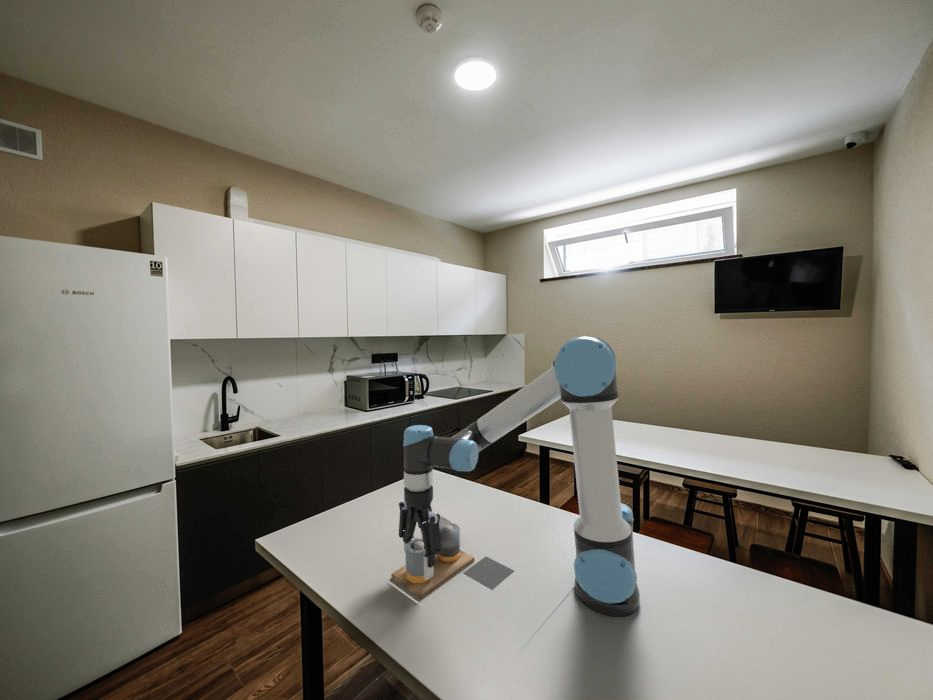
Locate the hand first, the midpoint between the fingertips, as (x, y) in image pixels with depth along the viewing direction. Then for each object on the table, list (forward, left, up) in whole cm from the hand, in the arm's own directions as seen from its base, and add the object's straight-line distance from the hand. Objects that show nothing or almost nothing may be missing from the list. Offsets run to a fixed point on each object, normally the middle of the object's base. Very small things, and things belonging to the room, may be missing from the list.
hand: (419, 571), depth 97 cm
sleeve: (0, 0, -1) cm, 1 cm away
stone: (+9, -17, -3) cm, 19 cm away
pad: (-12, -14, -3) cm, 19 cm away
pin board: (0, -5, -3) cm, 6 cm away
